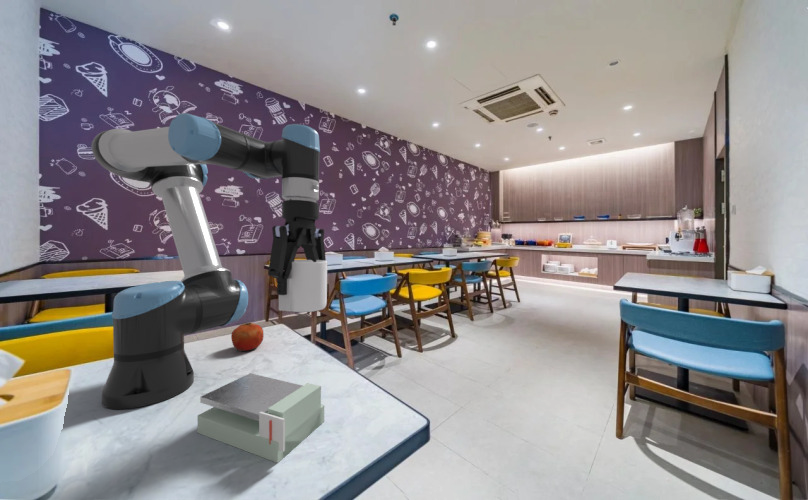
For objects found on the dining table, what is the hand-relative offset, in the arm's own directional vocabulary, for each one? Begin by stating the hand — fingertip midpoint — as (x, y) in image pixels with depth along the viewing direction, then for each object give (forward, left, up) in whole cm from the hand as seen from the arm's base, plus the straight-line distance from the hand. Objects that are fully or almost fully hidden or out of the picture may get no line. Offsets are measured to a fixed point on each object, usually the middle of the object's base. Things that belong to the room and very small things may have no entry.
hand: (300, 305), depth 63 cm
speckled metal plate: (0, -12, -16) cm, 20 cm away
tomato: (-34, +15, -19) cm, 42 cm away
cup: (0, 0, -1) cm, 1 cm away
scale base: (+2, -12, -19) cm, 23 cm away
